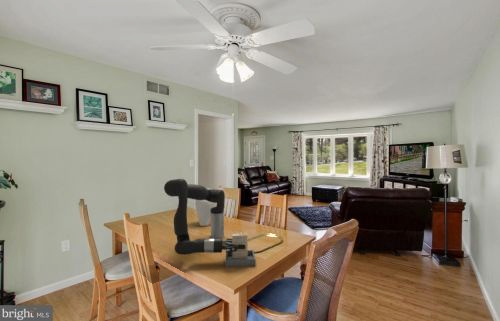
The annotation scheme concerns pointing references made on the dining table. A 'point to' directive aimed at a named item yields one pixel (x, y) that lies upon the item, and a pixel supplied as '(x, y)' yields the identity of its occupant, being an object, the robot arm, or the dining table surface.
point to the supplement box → (240, 240)
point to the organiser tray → (240, 260)
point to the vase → (203, 211)
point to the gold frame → (265, 235)
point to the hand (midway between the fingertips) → (244, 244)
